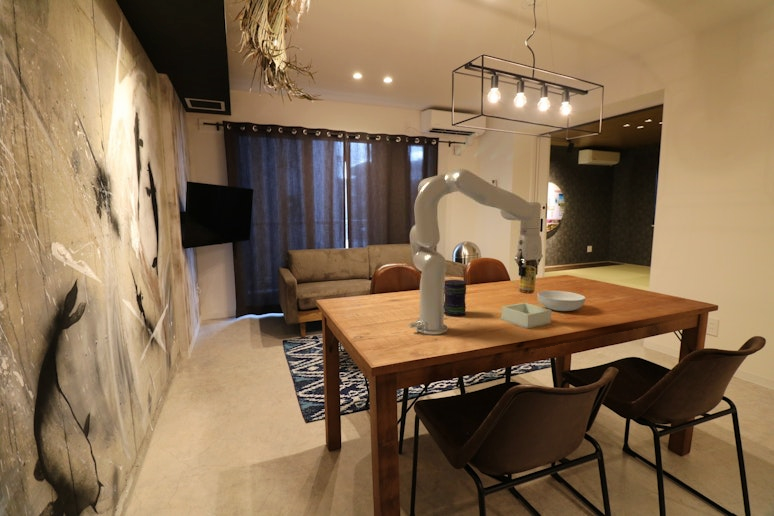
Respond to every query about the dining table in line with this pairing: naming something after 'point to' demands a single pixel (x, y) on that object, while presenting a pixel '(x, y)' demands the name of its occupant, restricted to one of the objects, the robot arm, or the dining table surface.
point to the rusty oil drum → (454, 298)
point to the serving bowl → (560, 300)
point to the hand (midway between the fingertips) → (527, 274)
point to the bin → (526, 315)
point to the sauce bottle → (528, 278)
